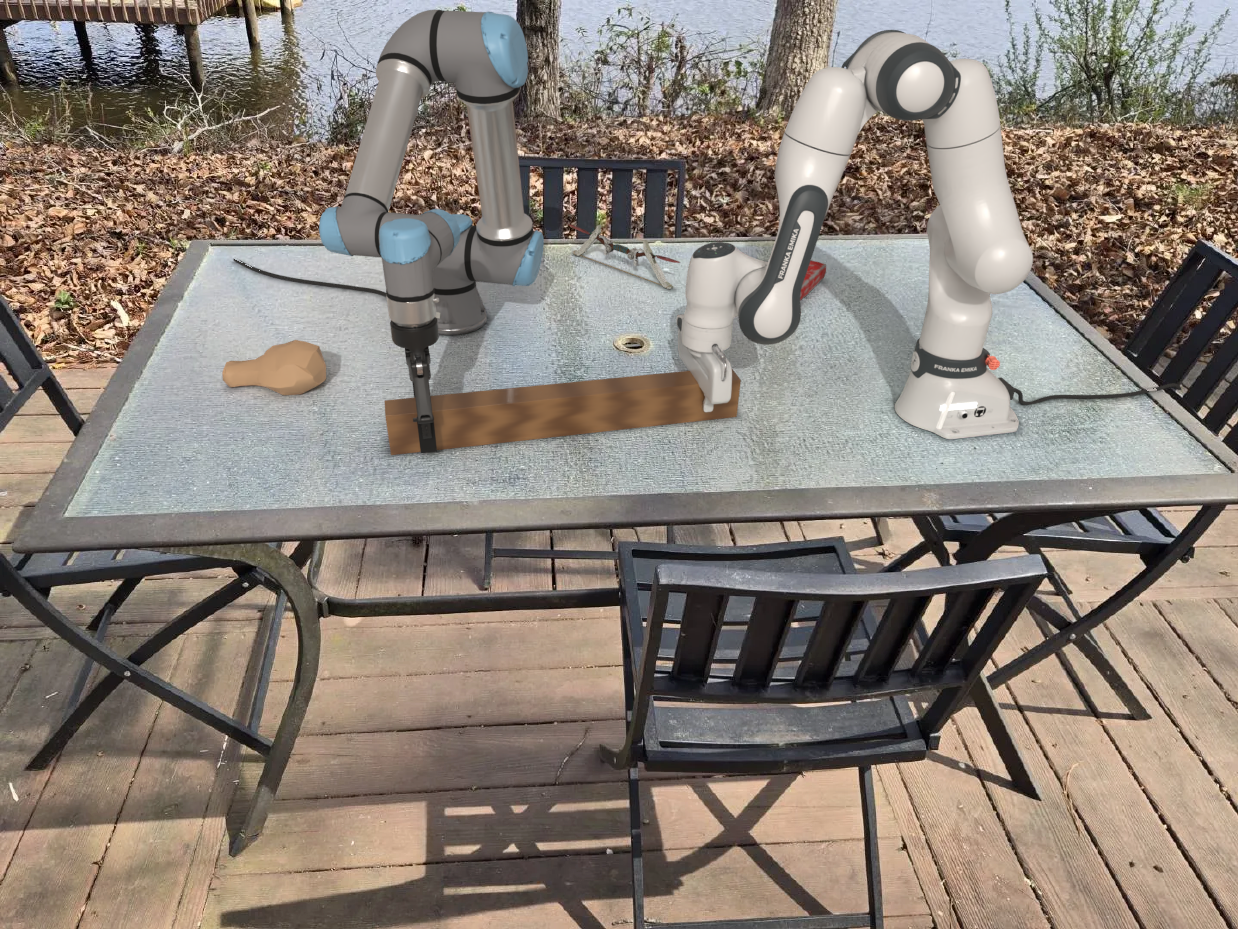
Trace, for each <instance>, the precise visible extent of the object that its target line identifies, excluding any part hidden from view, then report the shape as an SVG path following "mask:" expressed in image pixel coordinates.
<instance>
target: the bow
mask: <svg viewBox="0 0 1238 929" xmlns="http://www.w3.org/2000/svg"><path fill="white" fill-rule="evenodd" d="M567 225H568V226H569V227H571V228H573V229H575V230H577V231H579V232H581V233H583V234H585V235H586V234H587V235H589V238H588V239H587V240H586V241H584V243H583V244H581V246H580V248H578V250H577V249H575V250H572V252H571V253H572V254H573V255H574V256H577V257H578V256H579V257H583V258H585V259H588V260H591V261H594V262H596V263H599V264H601V265H605V266H607V267H610V268H613V269H615V270H619V271H621V272H623V273H626V274H629V275H632V276H635V277H637V278H640V279H642V280H645V281H648V282H651V283H654V284H657V285H659V286H662V287H663V288H665V289H667V290H671V289H673V288H674V285H673V284H671V283H670V282H669V281H668V280H667V279H666V276H665V274H664V272H663V270H662V268H661V267H660V265H659V263H658V262H657V260H656V259H659V260H662V261H665V262H669V263H676V264H681V261H679V260H677V259H674V258H670V257H667V256H663V255H660V254H654V252H653V249H652V248H651V246H650V244H649V241H648V240H647V239H645V240H643V241H642V242H643V243H642V244H643V245H642V247H643V248H637V247H636V246H635V247H633V248H629V247H628V246H625V245H622V244H619V243H614V239H608V238H607V237H606V236H604V235H602V234H601V233H602V225H601V224H598V225H596V227H595V229H594V230H593V231H592V232H589V231H588V230H586V229H584V228H581V227H580V226H577V225H574V224H570V223H567ZM597 241H598V242H600V244H602V245H603V246H604V250H603V256H608V255H609V254H610V253H614V251H615V252H619V253H621V254H624V255H627V259H628V260H630V261H633V262H632V263H633V267H638V266H640V264H639V262H640V261H639V258H640V257H641V258H642V257H646V259H647V261H648V262H649V264H650V266H651V268H652V271H653V273H654V274H655V276H656V278H657V280H658V282H659V283H658V282H656V281H653V280H650V279H647V278H645V277H643V276H642V277H641V276H640V275H637V274H633V273H631V272H628V271H626V270H623V269H620V268H618V267H615V266H612V265H609V264H607V263H603V262H601V261H598V260H595V259H593V258H590V257H587V256H584V254H585V253H587V251H588V250H589V249H590V248H591V247H592V245H593V244H595V243H596V242H597Z"/></svg>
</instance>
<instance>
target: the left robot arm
mask: <svg viewBox="0 0 1238 929" xmlns="http://www.w3.org/2000/svg"><path fill="white" fill-rule="evenodd" d="M528 54H529V53H528V48H527V42H526V38H525V34H524V32H523V29H522V27H521V26H520V23H518V21H517V20H516V18H514V17H513V16H511V15H509V14H504V13H497V12H496V13H495V12H494V11H466V10H465V11H464V10H463V11H462V10H443V9H428V10H424V11H423V10H422V11H421V12H418V13H416V14H414V15H413V16H411V17H409V19H407V20H406V21H404V22H403V23H402V24H400V26H399V27H398V28H397V29H396V30H395V31H394V32H393V33H392V35H391V36H390V37H389V39H388V41H387V42H386V43H385V45H384V47H383V49H382V50H381V53H380V54H379V57H378V61H377V64H376V67H375V76H376V79H377V81H378V82H377V85H376V89H375V91H374V92H375V93H374V96H373V99H372V104H371V106H370V108H369V109H370V110H369V112H368V116H367V120H366V123H365V127H364V130H363V133H362V137H361V140H360V143H359V146H358V150H357V153H356V157H355V160H354V164H353V167H352V170H351V174H350V177H349V180H348V184H347V187H346V190H345V194H344V197H343V200H342V203H341V206H333V207H332V206H330V207H327V208H326V209H325V210H324V212H322V214H321V216H320V218H319V222H318V223H319V224H318V226H319V227H318V231H319V239H320V241H321V244H322V245H323V246H324V247H325V249H326V250H327V251H329V253H334V254H339V255H344V256H349V257H354V256H355V257H357V256H358V257H368V258H371V257H372V258H379V259H380V258H381V264H382V271H383V276H384V283H385V284H384V285H385V291H382V290H381V289H380V290H379V289H377V288H371V287H363V286H355V285H349V284H343V283H342V284H341V283H333V282H332V283H331V282H325V281H318V280H311V279H304V278H297V277H292V276H286V275H281V274H277V273H274V272H269V271H267V270H263V269H261V268H257V267H256V266H253V265H250V266H251V267H252V266H253V267H252V268H251V267H249V266H247V265H245V264H247V263H246V262H244V261H242V260H240V261H241V262H243V263H241V262H239V261H237V260H235V259H234V258H233V259H232V260H233V262H235V263H237V264H238V265H240V266H242V267H244V268H246V269H248V270H251V271H253V272H255V273H258V274H261V275H263V276H266V277H271V278H274V279H279V280H282V281H289V282H294V283H299V284H306V285H307V284H308V285H312V286H313V285H315V286H321V287H328V288H335V289H336V288H337V289H343V290H344V289H345V290H352V291H358V292H359V291H360V292H366V293H372V294H376V295H380V296H383V297H385V299H386V306H387V313H388V318H389V320H390V323H389V327H390V334H391V340H392V343H393V344H394V345H395V346H397V347H399V348H402V349H404V356H405V363H406V366H407V367H408V374H409V375H408V376H409V380H410V382H411V383H412V390H413V391H412V392H413V398H414V397H415V400H416V409H417V418H413V422H417V425H418V434H419V442H420V451H421V452H420V454H429V453H437V452H438V450H437V446H436V437H435V427H434V417H433V413H432V404H431V396H432V395H431V389H430V380H431V378H432V374H431V363H432V362H431V361H432V360H431V353H430V347H431V346H433V345H434V344H436V343H438V340H439V338H440V336H459V335H465V334H469V333H473V332H476V331H477V330H480V329H481V328H483V327H484V326H485V325H486V323H487V320H488V316H487V310H486V306H485V304H484V302H483V299H482V298H481V295H480V293H479V291H478V288H477V283H478V282H479V283H488V284H495V285H496V284H497V285H507V286H512V287H517V286H519V287H529V286H532V285H533V284H534V283H535V281H536V280H537V278H538V275H539V272H540V269H541V265H542V260H543V256H544V255H543V254H544V245H545V239H544V235H543V233H542V232H541V231H539V230H537V229H536V230H534V225H533V219H532V218H531V217H530V216H529V215H528V214H527V213H525V209H524V208H525V207H524V199H523V190H522V179H521V171H520V170H521V168H520V158H519V150H518V140H517V132H516V131H517V130H516V129H517V128H516V121H515V111H514V101H515V99H516V98H517V97H518V96H519V95H520V90H521V89H520V87H522V86H524V85H525V84H526V82H527V79H528V73H529V66H528V63H529V55H528ZM436 82H437V83H438V82H442V83H453V84H454V87H455V93H456V97H457V99H458V100H459V101H460V102H462V103H463V104H464V105H466V111H467V119H468V125H469V132H470V139H471V146H472V153H473V162H474V167H475V176H476V182H477V190H478V196H479V203H480V204H479V205H480V210H481V218H480V219H478V220H477V222H476V225H473V224H474V221H473V220H472V218H471V216H469V215H466V214H461V213H452V214H451V213H450V212H448V211H446V210H444V209H440V208H432V209H430V210H427V211H424V212H423V213H421V214H412V213H401V212H390V208H391V204H392V201H393V197H394V194H395V190H396V186H397V183H398V180H399V176H400V173H401V170H402V166H403V163H404V158H405V156H406V152H407V148H408V146H409V141H410V138H411V136H412V131H413V128H414V125H415V121H416V118H417V113H418V110H419V106H420V104H421V100H422V99H424V98H425V97H427V96H428V94H429V92H430V90H431V87H432V84H434V83H436ZM259 270H260V271H259Z"/></svg>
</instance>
